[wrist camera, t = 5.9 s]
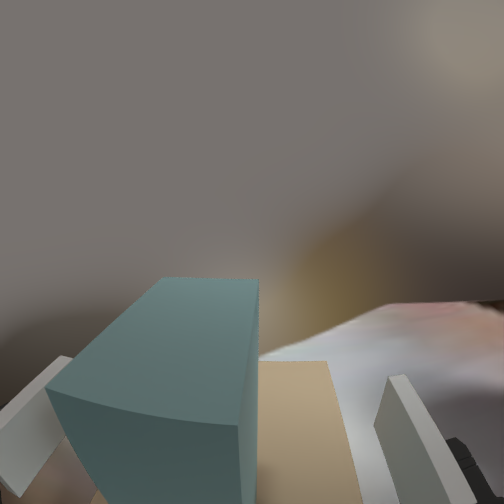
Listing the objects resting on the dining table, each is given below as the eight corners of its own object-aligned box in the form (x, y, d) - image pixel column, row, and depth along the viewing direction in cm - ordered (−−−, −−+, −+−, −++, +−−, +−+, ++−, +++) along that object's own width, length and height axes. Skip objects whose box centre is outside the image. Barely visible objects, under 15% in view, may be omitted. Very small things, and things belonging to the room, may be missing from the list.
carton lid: (373, 578, 6) (548, 371, 3) (73, 545, 6) (-76, 327, 4) (325, 365, 25) (338, 224, 22) (172, 360, 26) (159, 223, 23)
